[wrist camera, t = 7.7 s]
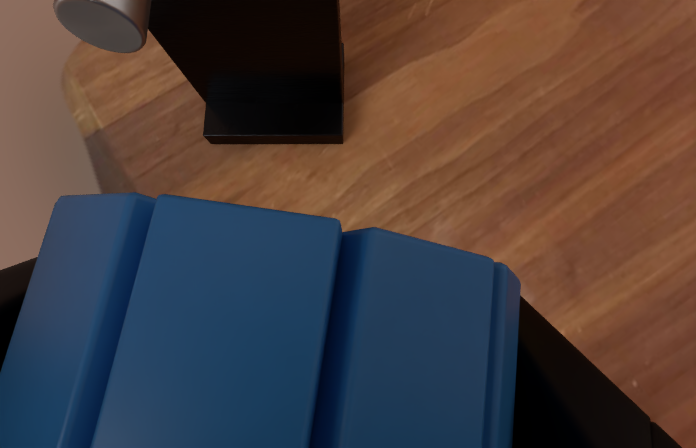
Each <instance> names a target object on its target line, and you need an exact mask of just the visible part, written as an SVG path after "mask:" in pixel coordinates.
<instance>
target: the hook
mask: <svg viewBox="0 0 696 448" xmlns="http://www.w3.org/2000/svg"><path fill="white" fill-rule="evenodd" d="M53 8H54V11H55V14H56V16H57V18H58V20H59V21H60V22H61V24H62V25H63V26H64V27H65V28H66V29H67V30H68V31H70V32H71V33H72V34H74V35H75V36H77V37H78V38H80V39H81V40H83V41H85V42H87V43H89V44H91V45H93V46H96V47H99V48H101V49H104V50H108V51H112V52H118V53H132V52H136V51H138V50H140V49H141V48H142V47H143V46H144V45H145V43H146V38H147V30H148V29H149V31H150V32H151V33H152V35H153V36H154V37H155V38H156V40H157V41H158V42H159V44H160V45H161V46H162V47H163V49H164V50H165V51H166V53H167V54H168V55H169V56H170V58H171V59H172V60H173V62H174V63H175V64H176V65H177V67H178V68H179V69H180V70H181V72H182V73H183V74H184V76H185V77H186V78H187V79H188V81H189V82H190V83H191V85H192V86H193V87H194V88H195V90H196V91H197V92H198V94H199V95H200V96H201V97H202V99H203V100H204V101H205V102H206V110H205V121H204V132H203V136H204V137H205V138H206V139H207V140H208V141H209V142H210V143H211V144H343V122H344V44H343V43H341V25H340V5H339V0H54V3H53Z"/></svg>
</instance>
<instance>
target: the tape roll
mask: <svg viewBox="0 0 696 448" xmlns="http://www.w3.org/2000/svg"><path fill="white" fill-rule="evenodd" d="M520 287H521V283H520V281H519V279H518V278H517V277H516V275H515V274H514V273H513V272H512V271H511V270H510V269H509V268H508V267H507V265H505V264H502V263H500V262H494V261H493V260H492V259H491V258H489V257H487V256H483V255H479V254H475V253H472V252H468V251H464V250H460V249H456V248H453V247H449V246H445V245H441V244H437V243H434V242H430V241H426V240H422V239H418V238H415V237H411V236H407V235H403V234H399V233H396V232H392V231H388V230H384V229H380V228H377V227H371V228H365V229H359V230H353V231H347V232H342V228H341V223H340V221H339V220H337V219H335V218H328V217H321V216H314V215H307V214H300V213H293V212H286V211H279V210H272V209H265V208H258V207H251V206H244V205H237V204H230V203H223V202H216V201H209V200H203V199H196V198H189V197H182V196H175V195H168V194H162V195H159V196H158V197H157V199H155V198H152V197H149V196H145V195H142V194H139V193H136V192H134V193H112V194H91V195H68V196H61V197H60V198H59V199H58V201H57V202H56V203H55V205H54V208H53V211H52V215H51V218H50V221H49V224H48V227H47V230H46V233H45V236H44V239H43V242H42V246H41V248H40V252H39V255H38V258H37V261H36V264H35V267H34V270H33V273H32V276H31V279H30V282H29V285H28V288H27V292H26V295H25V298H24V301H23V304H22V307H21V310H20V313H19V316H18V319H17V322H16V325H15V329H14V332H13V335H12V338H11V341H10V344H9V347H8V350H7V353H6V356H5V359H4V362H3V365H2V369H1V372H0V448H512V443H513V424H514V404H515V385H516V365H517V346H518V326H519V307H520Z"/></svg>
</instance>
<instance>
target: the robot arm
mask: <svg viewBox="0 0 696 448" xmlns="http://www.w3.org/2000/svg"><path fill="white" fill-rule="evenodd" d="M37 258H38V257H36V258H33V259H30V260H28V261H25V262H22V263H19V264H17V265H14V266H11V267H8V268H6V269H3V270H0V372H1V369H2V365H3V362H4V359H5V356H6V353H7V350H8V347H9V344H10V341H11V338H12V335H13V332H14V329H15V325H16V322H17V319H18V316H19V313H20V310H21V307H22V304H23V301H24V298H25V295H26V292H27V288H28V285H29V282H30V279H31V276H32V273H33V270H34V267H35V264H36V261H37ZM512 448H682V447H681V446H680V445H679V444H678V443H676V442H675V441H674V440H673V439H672V438H671V437H670V436H669V435H668V434H667V433H666V432H665V431H664V430H663V429H662V428H661V427H659V426H658V425H657V424H656V423H655V422H651V421H650V417H649V416H648V415H647V414H645V413H644V412H643V411H642V410H641V409H640V408H639V407H638V406H637V405H636V404H635V403H634V402H633V401H632V400H631V399H630V398H629V397H627V396H626V395H625V394H624V393H623V392H622V391H621V390H620V389H619V388H618V387H617V386H616V385H615V384H614V383H613V382H612V381H611V380H609V379H608V378H607V377H606V376H605V375H604V374H603V373H602V372H601V371H600V370H599V369H598V368H597V367H596V366H595V365H594V364H592V363H591V362H590V361H589V360H588V359H587V358H586V357H585V356H584V355H583V354H582V353H581V352H580V351H579V350H578V349H577V348H576V347H574V346H573V345H572V344H571V343H570V342H569V341H568V340H567V339H566V338H565V337H564V336H563V335H562V334H561V333H560V332H559V331H558V330H556V329H555V328H554V327H553V326H552V325H551V324H550V323H549V322H548V321H547V320H546V319H545V318H544V317H543V316H542V315H541V314H539V313H538V312H537V311H536V310H535V309H534V308H533V307H532V306H531V305H530V304H529V303H528V302H527V301H526V300H525V299H524V298H523V297H521V296H520V307H519V326H518V346H517V365H516V385H515V404H514V424H513V443H512Z"/></svg>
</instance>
